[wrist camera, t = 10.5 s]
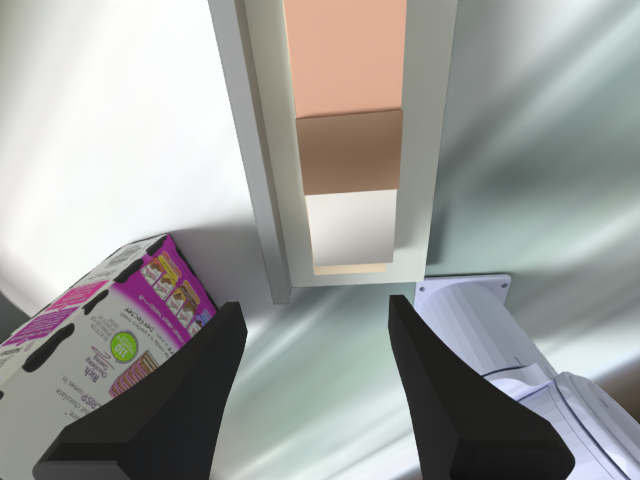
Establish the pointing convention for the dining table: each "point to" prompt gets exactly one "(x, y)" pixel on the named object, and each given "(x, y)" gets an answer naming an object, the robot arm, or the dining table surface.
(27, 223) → the dining table surface
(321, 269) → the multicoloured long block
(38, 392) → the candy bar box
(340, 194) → the white cube
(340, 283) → the dock
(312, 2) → the salmon pink cube
